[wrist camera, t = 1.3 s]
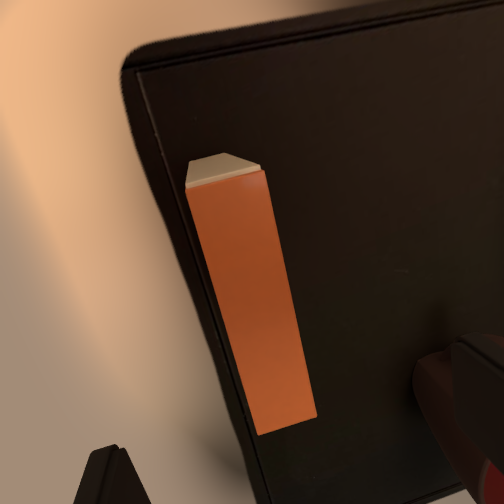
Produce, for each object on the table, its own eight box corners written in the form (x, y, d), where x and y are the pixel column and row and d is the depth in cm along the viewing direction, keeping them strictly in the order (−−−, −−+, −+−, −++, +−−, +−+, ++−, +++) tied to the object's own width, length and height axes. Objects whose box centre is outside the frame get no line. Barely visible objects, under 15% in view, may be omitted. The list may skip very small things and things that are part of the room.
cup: (393, 418, 39) (474, 528, 28) (396, 311, 35) (492, 391, 24) (471, 399, 41) (578, 498, 29) (483, 294, 36) (615, 362, 25)
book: (224, 152, 28) (263, 164, 13) (258, 286, 32) (317, 417, 17) (188, 161, 27) (183, 185, 12) (226, 295, 31) (258, 436, 16)
